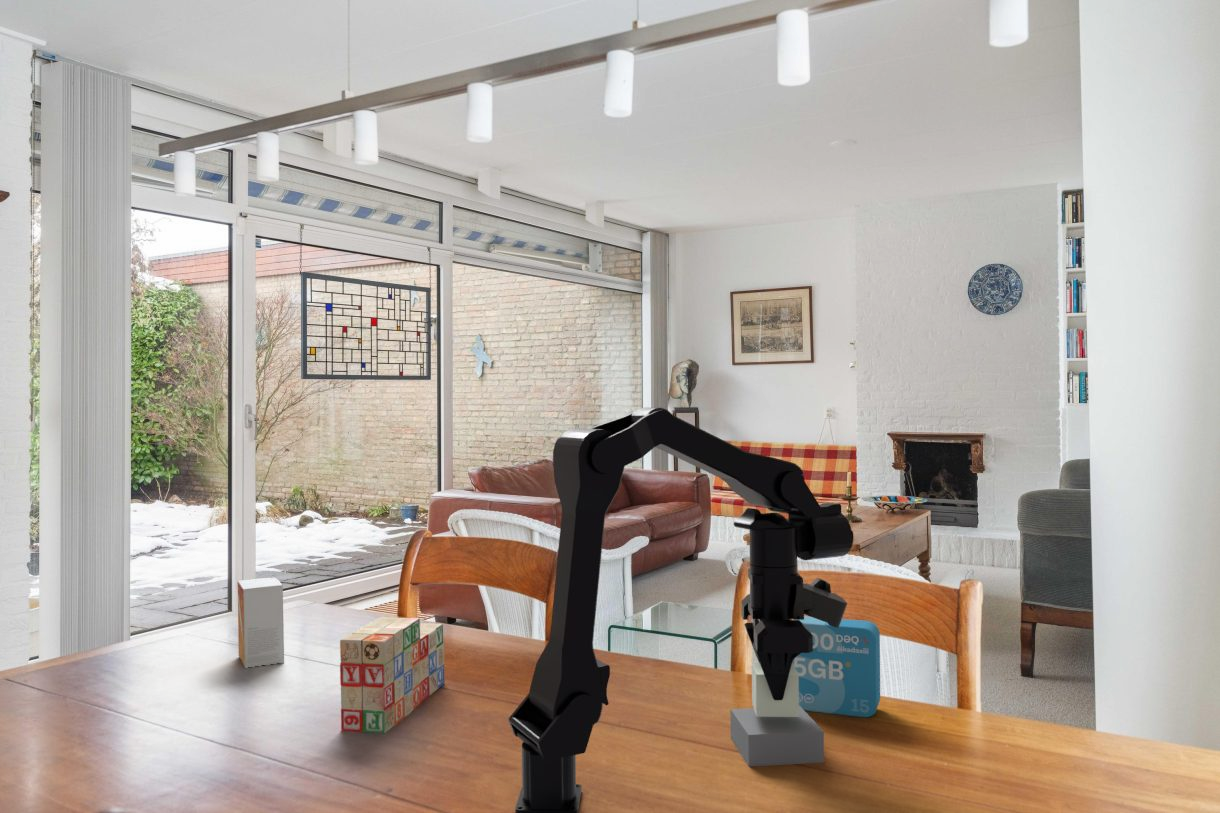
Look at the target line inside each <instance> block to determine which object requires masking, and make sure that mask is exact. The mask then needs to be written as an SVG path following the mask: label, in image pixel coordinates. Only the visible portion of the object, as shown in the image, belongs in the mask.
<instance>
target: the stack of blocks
mask: <svg viewBox="0 0 1220 813" xmlns="http://www.w3.org/2000/svg"><path fill="white" fill-rule="evenodd" d="M420 622H421V620H420V617H391V616H390V617H385V616H380V617H378V618H376V619H374V620H372V621H371V622H369V623H367V624H365V625H364V626H362V627H361V628H358V629H356V630H355V631H353V632H352V633H350V634H348V635H346V636H344V637H341V639H340V640H339V649H340V651H339V653H340V663H339V674H340V675H339V680H340V683H339V684H340V698H341V699H340V700H341V702H340V705H341V706H340V707H341V708H340V719H341V721H340V724H341V726H340V731H341V732H353V733H356V732H357V733H359V732H360V733H375V734H386V733H387V732H388V731H390V730H391V729H392V728H393V727H395V726H396V725H398V723H400V722H401V721H403V720H404V718H406V717H408V716H409V715H410V714H411V713H412V712H413V711H414V710H415V709H416V708H417V707H418V706H419V705H421V703H423V702H424V701H425V700H426V699H427V698H429V697H430V696H431V695H433V694H434V693H435V692H436V691H437V690H439V689H440V688H441V687H442V686H443V685H445V681H446V680H445V679H446V678H445V644H444V623H432V622H431V623H429V622H424V623H423V622H421V623H420Z"/></svg>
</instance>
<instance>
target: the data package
mask: <svg viewBox="0 0 1220 813" xmlns="http://www.w3.org/2000/svg"><path fill="white" fill-rule="evenodd" d="M800 621H801V622H802V623H803V624H804V625H805V626H806V627H807V628H808V629H809V631H810V632H811V634H812V635H813V652H810V653H801V654H799V655H798V656H797V657H796V658H794V660H793V662H792V663H793V665H794V667H795V669H796V671H797V673H798V675H799V706H801V708H802V709H803V710H804V711H805V712H815V713H823V714H832V715H840V716H848V717H856V718H870V717H872V716H874V714H876V712H877V709H878V707H879V704H880V701H881V642H880V641H881V640H880V639H881V635H880V629H879V627H878V626H877V625H876V624H875V623H874V622H872V621H870V620H869V621H868V620H860V619H859V620H858V619H847V618H845V619H844V618H842V620H841V623H840V626H839V627H838V628H837V627H833V626H830V625H829V624H828V623H827V622H824V621H821V620H819V619H816V618H813V617H810V616H808V615H804V620H800Z"/></svg>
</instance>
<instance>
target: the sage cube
mask: <svg viewBox="0 0 1220 813" xmlns="http://www.w3.org/2000/svg"><path fill="white" fill-rule="evenodd" d="M751 704H752V708H754V711H755V714H756V717H799V675H798V673H797V671H796V669H795V667H794V665H793V663H792V665H791V669H790V673H789V677H788V681H787V685H786V689H785V693H784V697H783V700H774V699H773V697H772V694H771V692H770V689H769V686H768V684H767V681H766V678H765V676H764V673H763V670H762V668H761V665H760V663H759V662H751Z"/></svg>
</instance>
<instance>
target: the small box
mask: <svg viewBox="0 0 1220 813" xmlns="http://www.w3.org/2000/svg"><path fill="white" fill-rule="evenodd" d="M283 590H284V587H283V584H282V582H280V580H278V578H277V577H262V578H253V579H252V578H251V579H243V580H237V621H238V622H237V624H238V625H237V626H238V629H237V630H238V632H237V636H238V637H237V638H238V657H239V659H240V661H241V662H242V665H243V667H244V669H249V668H248V667H252V668H256V667H255V666H259V667H263V666H262V665H266V666H271V665H270V664H274V665H278V664H277V663H280V664H284V663H285V639H284V638H285V636H284V634H285V632H284V627H285V626H284V591H283ZM283 662H284V663H283Z"/></svg>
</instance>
